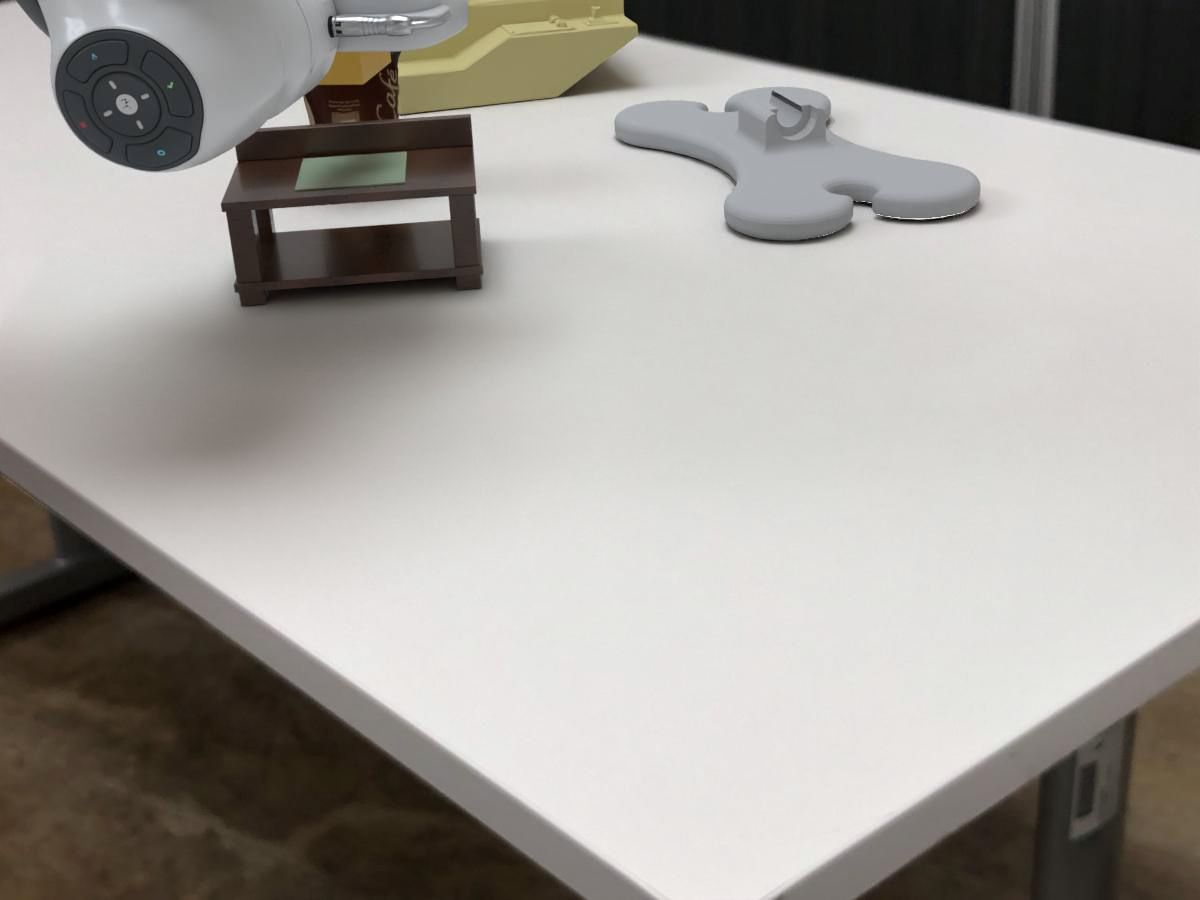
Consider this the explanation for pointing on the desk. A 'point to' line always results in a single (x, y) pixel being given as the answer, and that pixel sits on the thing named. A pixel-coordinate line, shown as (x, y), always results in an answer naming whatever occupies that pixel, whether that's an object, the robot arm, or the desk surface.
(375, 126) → the rack
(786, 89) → the holder
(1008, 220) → the desk surface
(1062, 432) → the desk surface
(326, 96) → the coffee cup
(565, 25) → the control panel
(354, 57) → the block
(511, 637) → the desk surface
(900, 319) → the desk surface
